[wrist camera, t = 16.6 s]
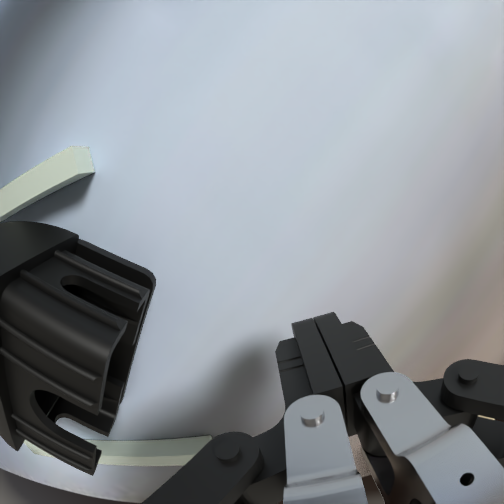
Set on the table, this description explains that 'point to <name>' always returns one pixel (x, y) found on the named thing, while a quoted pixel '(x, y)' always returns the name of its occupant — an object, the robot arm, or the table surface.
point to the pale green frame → (31, 190)
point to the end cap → (65, 337)
